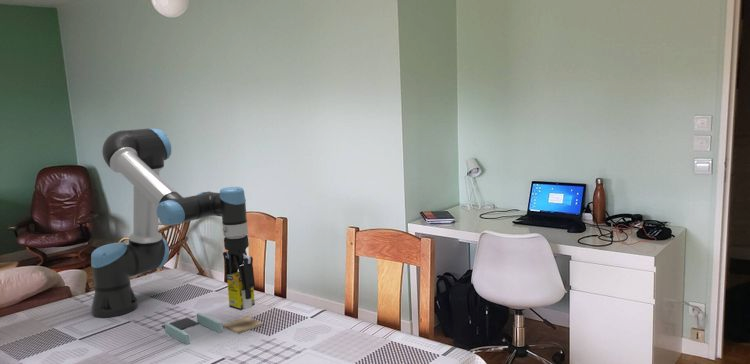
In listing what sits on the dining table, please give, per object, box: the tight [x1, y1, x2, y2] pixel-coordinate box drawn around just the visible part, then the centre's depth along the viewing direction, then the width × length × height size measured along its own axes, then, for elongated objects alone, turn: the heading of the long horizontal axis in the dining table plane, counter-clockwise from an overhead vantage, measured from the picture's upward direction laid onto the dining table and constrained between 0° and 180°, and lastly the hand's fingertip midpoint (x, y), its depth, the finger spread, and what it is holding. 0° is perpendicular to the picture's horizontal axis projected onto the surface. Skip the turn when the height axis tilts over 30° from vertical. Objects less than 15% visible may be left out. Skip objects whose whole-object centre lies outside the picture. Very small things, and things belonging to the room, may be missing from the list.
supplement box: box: [227, 270, 256, 311], centre depth 178 cm, size 6×6×11 cm
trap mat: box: [160, 317, 200, 331], centre depth 182 cm, size 8×9×1 cm
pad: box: [222, 316, 264, 335], centre depth 179 cm, size 9×9×1 cm
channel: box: [164, 312, 223, 346], centre depth 176 cm, size 14×12×3 cm
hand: (241, 305), depth 178 cm, fingers closed on supplement box, 6 cm apart
